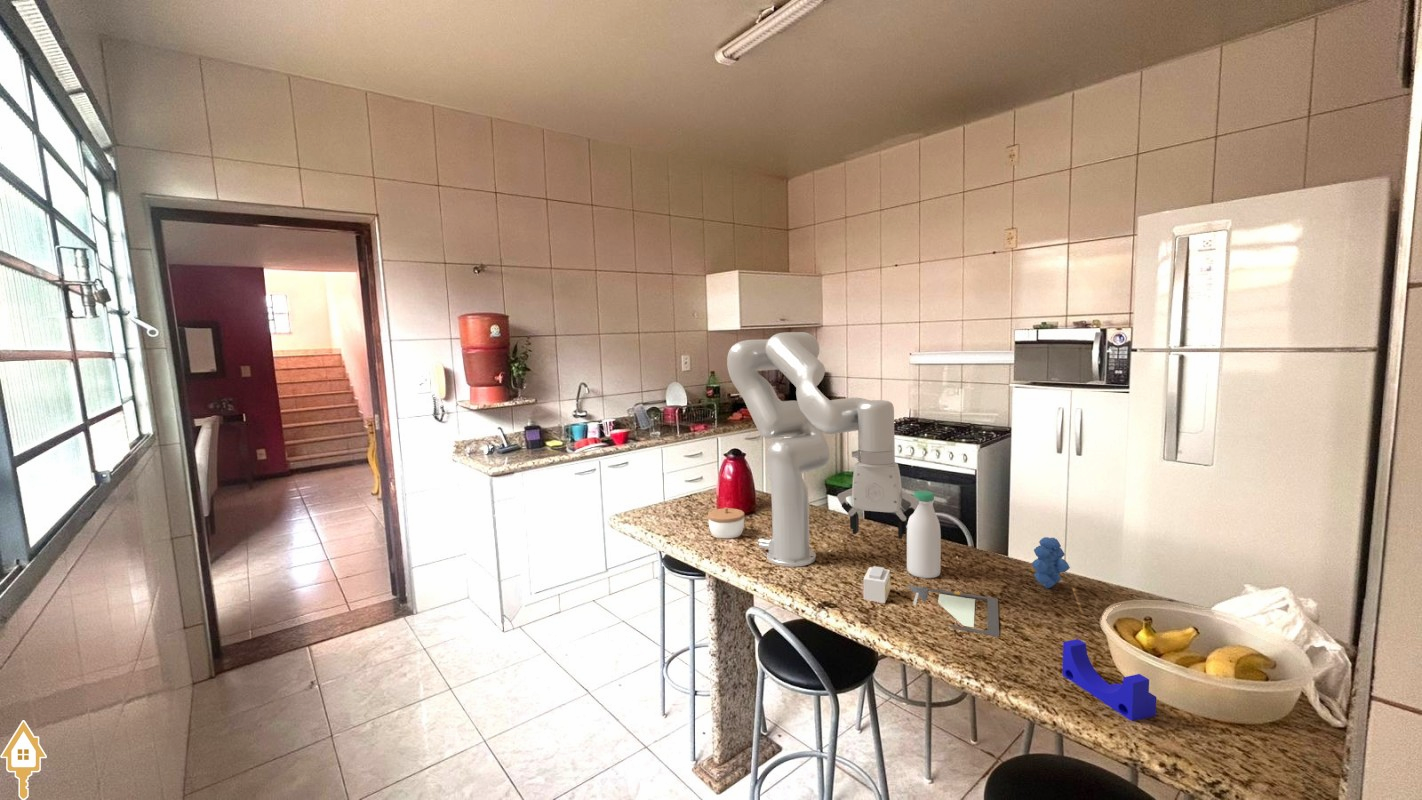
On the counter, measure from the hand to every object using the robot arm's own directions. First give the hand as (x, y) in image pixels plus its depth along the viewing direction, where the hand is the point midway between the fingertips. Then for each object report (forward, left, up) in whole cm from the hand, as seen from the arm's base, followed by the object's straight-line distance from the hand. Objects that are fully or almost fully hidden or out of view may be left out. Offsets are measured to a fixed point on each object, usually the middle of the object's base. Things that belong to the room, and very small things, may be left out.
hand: (878, 534), depth 123 cm
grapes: (+35, +19, -15) cm, 42 cm away
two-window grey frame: (+8, 0, -15) cm, 16 cm away
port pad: (+16, 0, -15) cm, 21 cm away
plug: (0, 0, -15) cm, 15 cm away
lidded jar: (-47, +23, -15) cm, 55 cm away
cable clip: (+39, -21, -15) cm, 46 cm away
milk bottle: (+8, +18, -15) cm, 25 cm away
